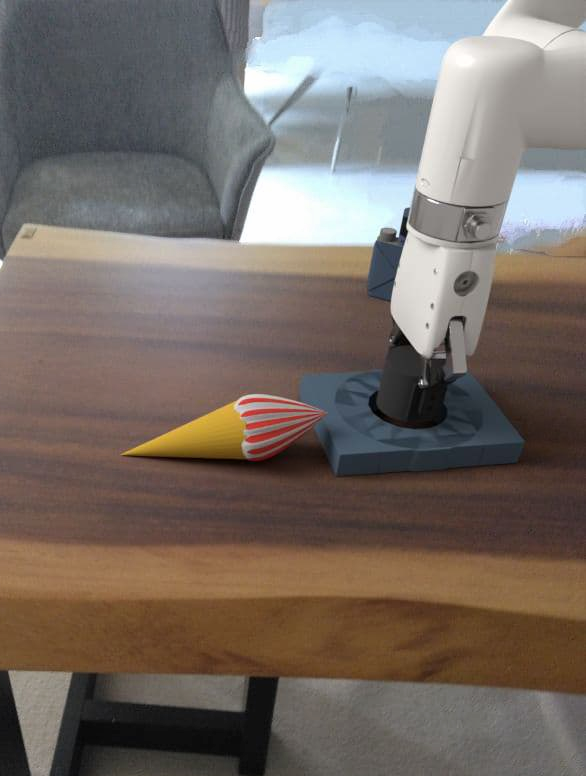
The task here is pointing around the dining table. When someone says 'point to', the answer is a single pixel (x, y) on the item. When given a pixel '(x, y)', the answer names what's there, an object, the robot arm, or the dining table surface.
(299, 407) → the ice cream cone
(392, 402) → the dark grey cylinder
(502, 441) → the base pad
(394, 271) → the vaping device
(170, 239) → the dining table surface
